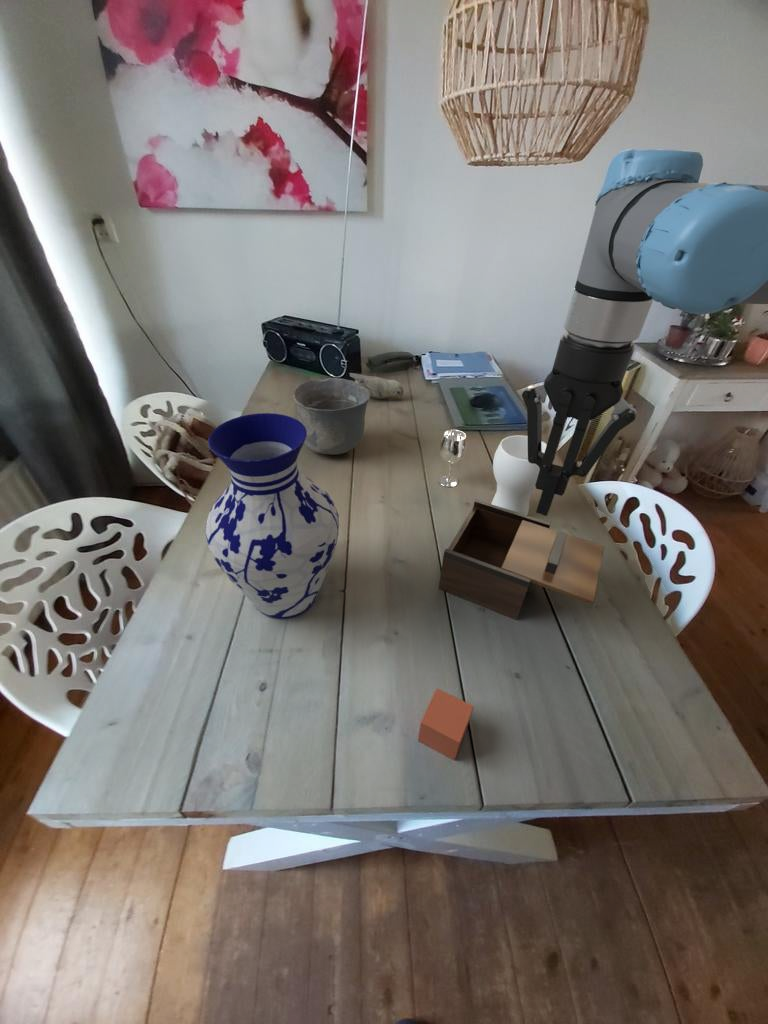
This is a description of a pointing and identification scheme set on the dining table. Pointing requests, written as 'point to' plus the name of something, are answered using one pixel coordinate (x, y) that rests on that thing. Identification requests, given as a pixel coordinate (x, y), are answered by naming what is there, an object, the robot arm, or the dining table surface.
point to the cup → (514, 474)
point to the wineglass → (452, 453)
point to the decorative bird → (379, 386)
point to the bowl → (331, 414)
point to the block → (445, 723)
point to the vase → (270, 516)
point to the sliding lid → (555, 561)
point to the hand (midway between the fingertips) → (543, 508)
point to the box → (486, 560)
